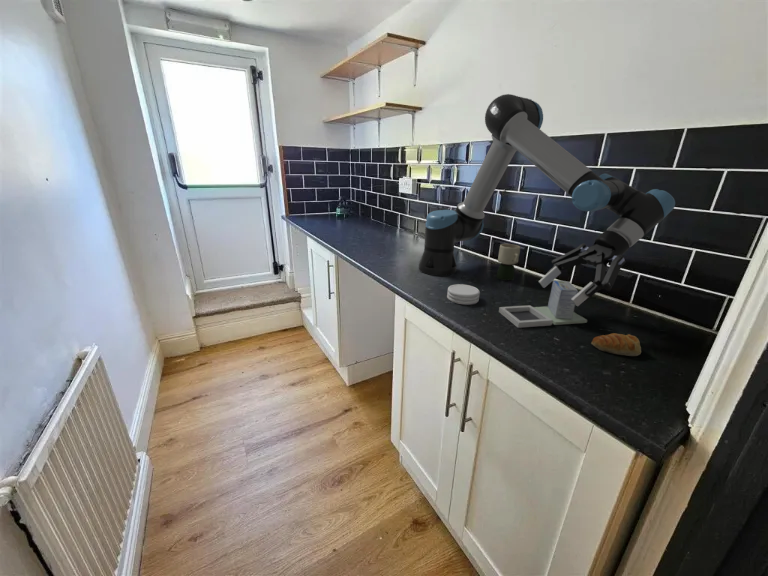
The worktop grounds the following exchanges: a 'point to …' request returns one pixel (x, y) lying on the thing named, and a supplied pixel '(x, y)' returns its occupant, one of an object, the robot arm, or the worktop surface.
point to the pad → (560, 321)
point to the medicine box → (562, 299)
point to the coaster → (463, 294)
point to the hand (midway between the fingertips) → (556, 293)
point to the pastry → (618, 344)
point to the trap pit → (525, 316)
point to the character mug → (507, 261)
